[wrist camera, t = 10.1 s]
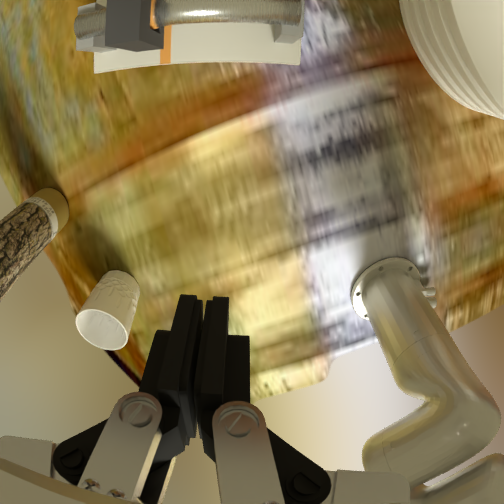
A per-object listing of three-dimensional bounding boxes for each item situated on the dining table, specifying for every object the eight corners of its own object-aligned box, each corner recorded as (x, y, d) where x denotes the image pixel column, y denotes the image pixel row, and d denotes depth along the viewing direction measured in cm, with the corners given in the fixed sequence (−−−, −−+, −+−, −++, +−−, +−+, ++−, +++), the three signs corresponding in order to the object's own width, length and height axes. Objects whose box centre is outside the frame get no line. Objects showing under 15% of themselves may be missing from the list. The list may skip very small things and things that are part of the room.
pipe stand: (300, -9, 26) (315, -29, 20) (297, 65, 32) (312, 61, 25) (101, 2, 25) (71, -11, 18) (99, 73, 30) (67, 74, 24)
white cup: (89, 274, 45) (65, 315, 37) (127, 260, 44) (106, 303, 36) (114, 310, 49) (97, 353, 41) (152, 299, 48) (138, 345, 40)
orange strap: (173, -14, 24) (156, -36, 17) (170, 63, 30) (151, 59, 23) (163, -13, 24) (143, -34, 17) (160, 64, 30) (138, 60, 23)
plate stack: (531, 0, 21) (576, 2, 11) (518, 135, 35) (566, 157, 25) (400, -84, 18) (440, -111, 8) (386, 75, 32) (435, 79, 22)
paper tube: (29, 192, 38) (-81, 292, 16) (61, 180, 37) (-57, 287, 16) (45, 231, 41) (-48, 344, 20) (77, 223, 41) (-18, 347, 19)
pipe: (296, 2, 23) (302, -5, 20) (295, 28, 24) (301, 23, 22) (88, 16, 22) (74, 12, 19) (86, 41, 23) (73, 39, 21)
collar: (166, -10, 23) (144, -33, 15) (163, 49, 26) (139, 40, 19) (138, -6, 23) (109, -27, 15) (136, 52, 26) (104, 45, 19)
